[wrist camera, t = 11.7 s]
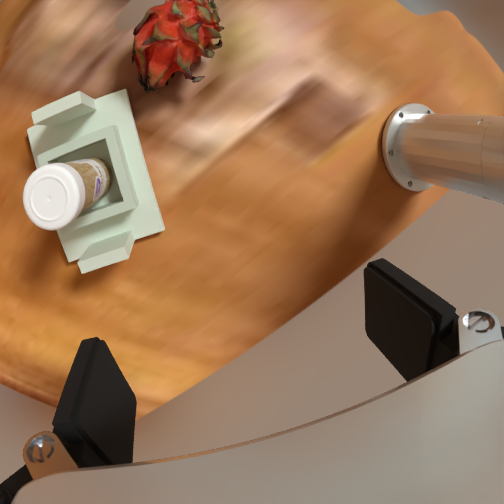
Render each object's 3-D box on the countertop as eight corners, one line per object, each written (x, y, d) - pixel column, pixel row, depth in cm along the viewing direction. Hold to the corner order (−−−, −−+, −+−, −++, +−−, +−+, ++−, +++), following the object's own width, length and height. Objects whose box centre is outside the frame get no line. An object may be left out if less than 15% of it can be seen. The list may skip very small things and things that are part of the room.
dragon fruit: (211, 13, 29) (157, 95, 33) (158, -23, 23) (97, 69, 26) (258, 19, 25) (193, 116, 29) (200, -30, 18) (122, 83, 22)
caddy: (127, 90, 29) (116, 77, 23) (165, 227, 35) (163, 247, 28) (31, 129, 27) (2, 128, 21) (71, 258, 33) (53, 284, 27)
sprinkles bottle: (116, 195, 31) (83, 227, 19) (77, 201, 30) (27, 236, 18) (111, 152, 30) (74, 158, 18) (71, 160, 29) (16, 171, 17)
